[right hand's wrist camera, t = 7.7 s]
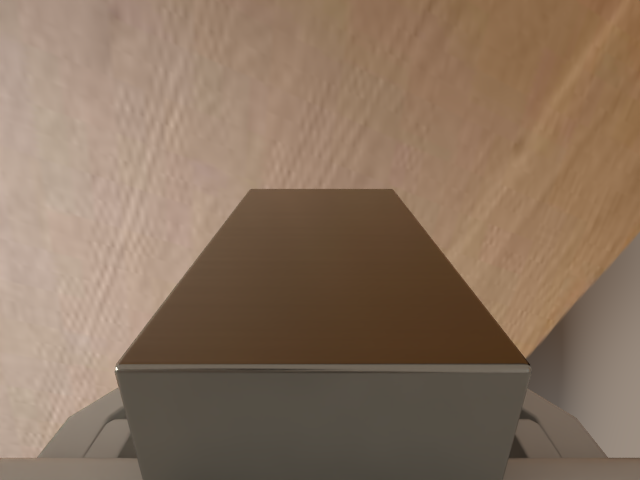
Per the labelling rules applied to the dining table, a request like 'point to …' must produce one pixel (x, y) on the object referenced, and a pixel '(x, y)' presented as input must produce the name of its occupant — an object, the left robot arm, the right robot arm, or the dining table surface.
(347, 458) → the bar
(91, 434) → the right robot arm
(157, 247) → the dining table surface
